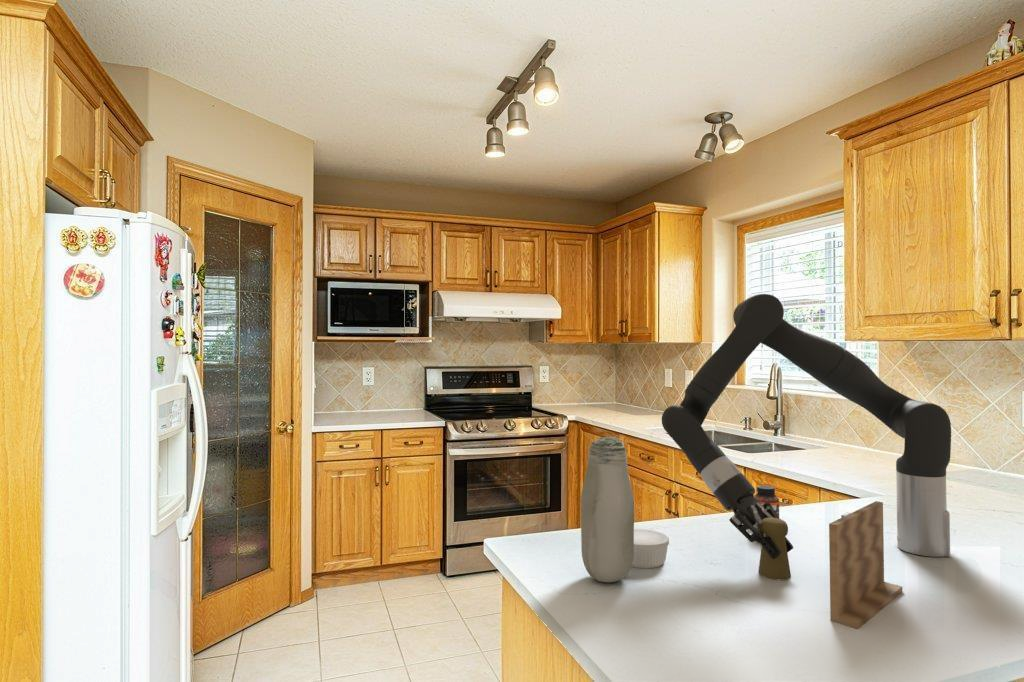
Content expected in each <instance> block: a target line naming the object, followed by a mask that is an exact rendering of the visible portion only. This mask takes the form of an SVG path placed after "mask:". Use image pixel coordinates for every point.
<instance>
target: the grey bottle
mask: <svg viewBox="0 0 1024 682" xmlns="http://www.w3.org/2000/svg"><path fill="white" fill-rule="evenodd" d="M592 441H593V442H591V444H590V446H589V448H588V453H587V464H586V466H587V467H586V472H585V476H584V480H583V485H582V489H581V495H580V535H581V536H580V539H581V541H580V542H581V546H580V547H581V557H582V562H583V565H584V568H585V570H586V572H587V574H588V575H589V576H590V577H591V578H593V579H595V580H597V581H599V582H602V583H608V584H609V583H610V584H611V583H616V582H617V581H620V580H622V579H624V578H625V577H626V576H627V575H628V574H629V572H630V571H631V569H632V563H633V557H634V529H635V499H634V498H635V497H634V492H633V488H632V483H631V479H630V474H629V469H628V461H627V459H628V457H627V456H628V455H627V449H626V447H625V445H624V443H623V442H622V441H621V440H620V439H619V438H617V437H614V436H602V437H598V438H596V439H595V440H592Z"/></svg>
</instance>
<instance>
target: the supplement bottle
mask: <svg viewBox="0 0 1024 682" xmlns="http://www.w3.org/2000/svg"><path fill="white" fill-rule="evenodd" d="M775 488H776V487H774V486H771V485H758V486H756V494H754V498H755V499H757V500H758V501H759V502H760V503H761V504H764V503H766V502H769V503H770V504H771V506H772V507H773V509H774V510H775V512H776V514H777V515H778V517H779V518H780V498H779V496H777V495H776V494H775V493H776V492H775ZM758 531H759V530H758ZM759 532H760V531H759Z"/></svg>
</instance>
